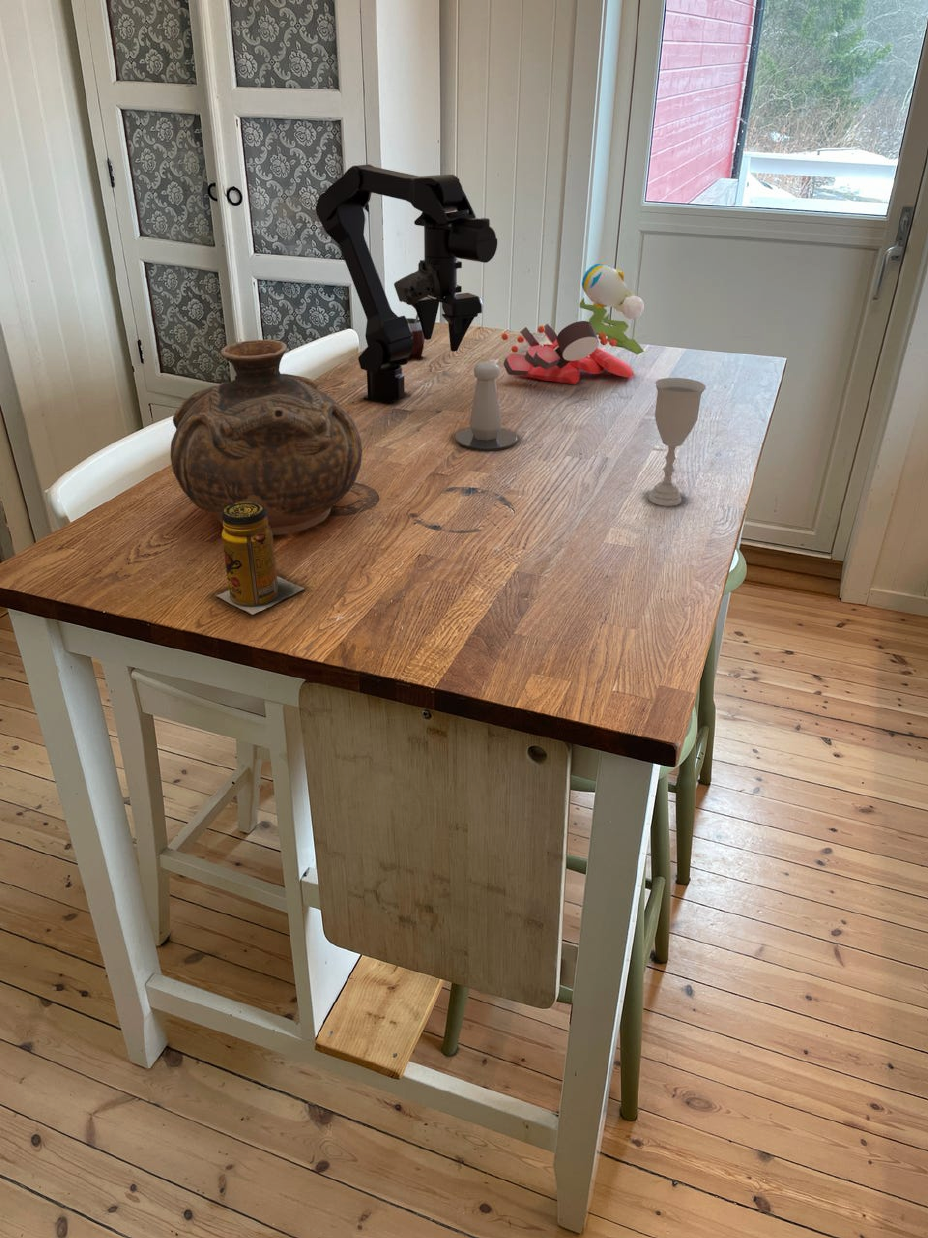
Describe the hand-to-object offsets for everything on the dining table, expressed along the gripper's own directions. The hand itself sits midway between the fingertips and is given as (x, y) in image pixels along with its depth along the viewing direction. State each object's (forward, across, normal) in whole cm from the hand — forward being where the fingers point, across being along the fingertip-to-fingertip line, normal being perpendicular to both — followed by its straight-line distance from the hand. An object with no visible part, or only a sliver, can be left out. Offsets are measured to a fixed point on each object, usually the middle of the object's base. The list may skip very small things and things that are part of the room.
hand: (440, 345), depth 171 cm
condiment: (+13, +47, -55) cm, 74 cm away
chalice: (+13, +52, +9) cm, 54 cm away
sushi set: (+13, -6, +37) cm, 40 cm away
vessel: (+13, +25, -44) cm, 53 cm away
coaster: (+13, +16, 0) cm, 20 cm away
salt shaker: (+13, +16, 0) cm, 20 cm away
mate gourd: (+13, -36, +14) cm, 41 cm away
